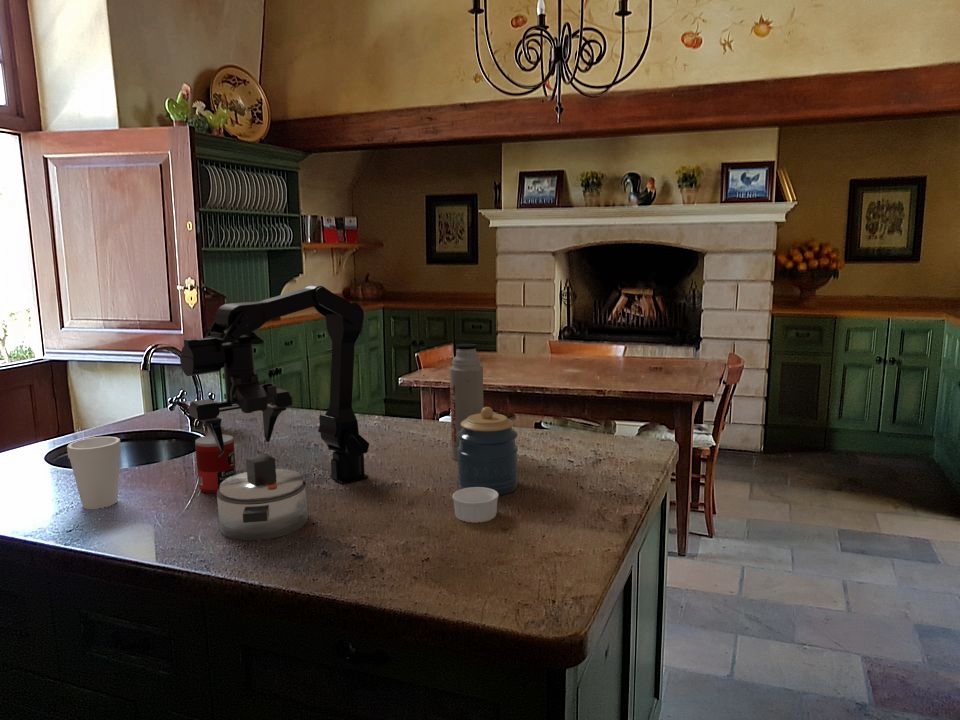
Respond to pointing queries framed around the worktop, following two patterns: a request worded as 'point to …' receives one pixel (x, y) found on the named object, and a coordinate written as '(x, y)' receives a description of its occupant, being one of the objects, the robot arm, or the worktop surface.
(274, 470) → the lid
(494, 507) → the ramekin
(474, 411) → the thermos bottle
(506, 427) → the canister
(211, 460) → the canned food
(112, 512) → the worktop surface
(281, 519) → the pot
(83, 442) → the foam cup
